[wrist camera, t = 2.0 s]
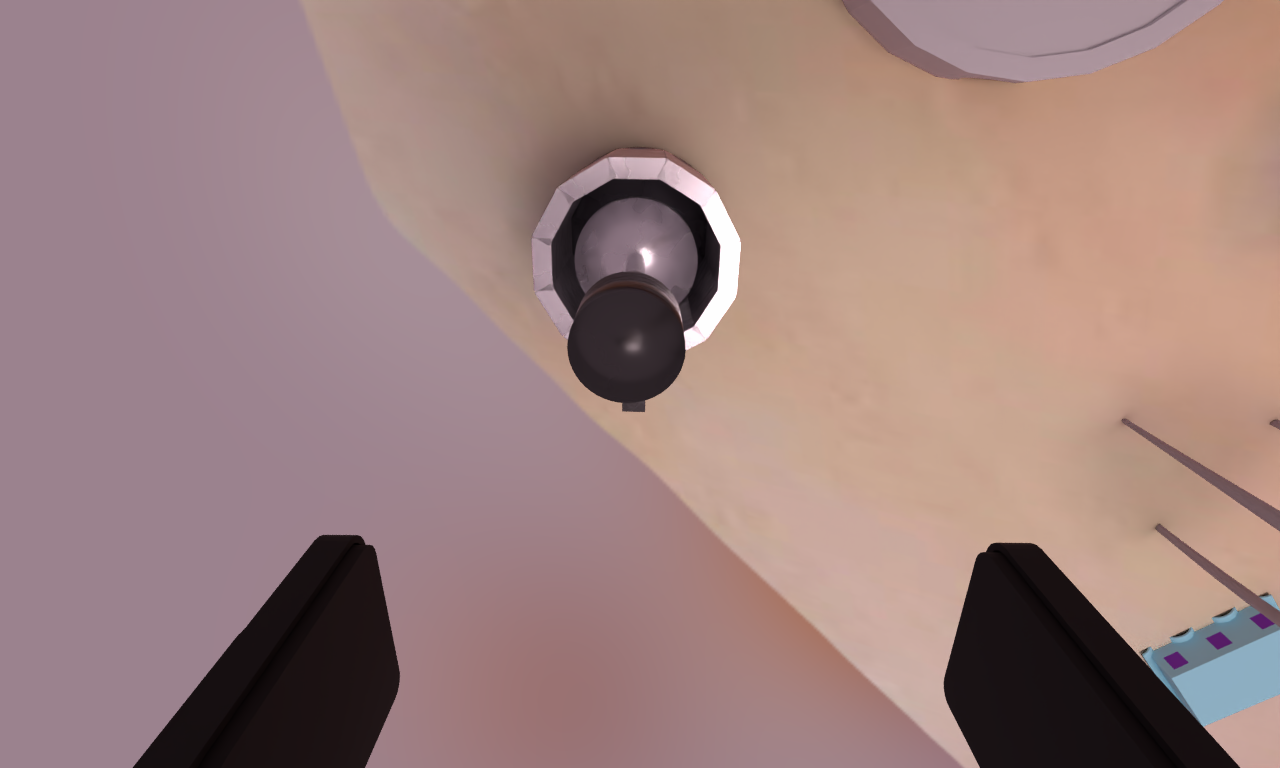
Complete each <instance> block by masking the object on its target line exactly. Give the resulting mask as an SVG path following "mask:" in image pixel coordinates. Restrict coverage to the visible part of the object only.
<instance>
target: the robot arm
mask: <svg viewBox="0 0 1280 768" xmlns="http://www.w3.org/2000/svg"><path fill="white" fill-rule="evenodd" d="M399 680H400V672H399V666H398V661H397V656H396V651H395V646H394V641H393V636H392V631H391V626H390V621H389V616H388V611H387V606H386V601H385V596H384V591H383V586H382V581H381V576H380V570H379V566H378V561H377V555H376V552H375V549H374V547H373V546H372V545H365V542H364V540H363V539H362V537H361V536H358V535H322V536H319V537H318V538H317V539H316V540H315V541H314V542H313V543H312V545H311V546H310V547H309V548H308V550H307V551H306V552H305V553H304V555H303V556H302V557H301V558H300V560H299V561H298V562H297V563H296V565H295V566H294V567H293V569H292V570H291V571H290V572H289V574H288V575H287V576H286V577H285V579H284V580H283V581H282V582H281V584H280V585H279V586H278V587H277V589H276V590H275V591H274V592H273V594H272V595H271V596H270V598H269V599H268V600H267V601H266V603H265V604H264V605H263V606H262V608H261V609H260V610H259V611H258V613H257V614H256V615H255V617H254V618H253V619H252V620H251V622H250V623H249V624H248V625H247V627H246V628H245V629H244V630H243V631H242V632H241V633H240V634H239V635H238V636H237V637H236V638H235V640H234V641H233V642H232V643H231V645H230V646H229V647H228V648H227V650H226V651H225V652H224V654H223V655H222V656H221V657H220V659H219V660H218V661H217V662H216V664H215V665H214V666H213V668H212V669H211V670H210V671H209V672H208V674H207V675H206V677H204V679H203V680H202V681H201V682H200V684H199V685H198V686H197V688H196V689H195V690H194V691H193V693H192V694H191V695H190V696H189V698H188V699H187V700H186V701H185V703H184V704H183V705H182V706H181V708H180V709H179V710H178V711H177V713H176V714H175V715H174V716H173V718H172V719H171V720H170V721H169V723H168V724H167V725H166V726H165V728H164V729H163V730H162V732H161V733H160V734H159V735H158V737H157V738H156V739H155V740H154V742H153V743H152V744H151V745H150V747H149V748H148V749H147V750H146V752H145V753H144V754H143V756H142V757H141V758H140V759H139V760H138V762H137V763H136V764H135V765H134V767H133V768H365V766H366V764H367V762H368V759H369V757H370V755H371V753H372V750H373V748H374V746H375V743H376V741H377V739H378V737H379V734H380V732H381V730H382V727H383V725H384V723H385V721H386V718H387V716H388V714H389V711H390V709H391V707H392V705H393V702H394V700H395V698H396V695H397V692H398V687H399ZM944 692H945V697H946V701H947V703H948V705H949V708H950V710H951V712H952V714H953V716H954V717H955V719H956V721H957V723H958V725H959V727H960V729H961V731H962V733H963V735H964V737H965V739H966V741H967V743H968V745H969V747H970V749H971V751H972V753H973V755H974V757H975V759H976V761H977V763H978V765H979V767H980V768H1240V767H1239V766H1238V765H1237V763H1236V762H1235V761H1234V760H1233V759H1232V758H1231V757H1230V756H1229V755H1228V754H1227V753H1226V751H1225V750H1224V749H1223V748H1222V747H1221V746H1220V745H1219V744H1218V743H1217V742H1216V740H1215V739H1214V738H1213V737H1212V736H1211V735H1210V734H1209V733H1208V732H1207V731H1206V729H1205V728H1204V727H1203V726H1202V725H1201V724H1200V723H1199V722H1198V721H1197V720H1196V718H1195V717H1194V716H1193V715H1192V714H1191V713H1190V712H1189V711H1188V710H1187V709H1186V707H1185V706H1184V705H1183V704H1182V703H1181V702H1180V701H1179V700H1178V699H1177V698H1176V696H1175V695H1174V694H1173V693H1172V692H1171V691H1170V690H1169V689H1168V688H1167V687H1166V685H1165V684H1164V683H1163V682H1162V681H1161V680H1160V679H1159V678H1158V677H1157V676H1156V674H1155V673H1154V672H1153V671H1152V670H1151V669H1150V668H1149V667H1148V666H1147V665H1146V663H1145V662H1144V661H1143V660H1142V659H1141V658H1140V657H1139V656H1138V655H1137V654H1136V653H1135V651H1134V650H1133V649H1132V648H1131V647H1130V646H1129V645H1128V644H1127V643H1126V642H1125V640H1124V639H1123V638H1122V637H1121V636H1120V635H1119V634H1118V633H1117V632H1116V631H1115V629H1114V628H1113V627H1112V626H1111V625H1110V624H1109V623H1108V622H1107V621H1106V620H1105V618H1104V617H1103V616H1102V615H1101V614H1100V613H1099V612H1098V611H1097V610H1096V609H1095V607H1094V606H1093V605H1092V604H1091V603H1090V602H1089V601H1088V600H1087V599H1086V598H1085V596H1084V595H1083V594H1082V593H1081V592H1080V591H1079V590H1078V589H1077V588H1076V587H1075V585H1074V584H1073V583H1072V582H1071V581H1070V580H1069V579H1068V578H1067V577H1066V576H1065V574H1064V573H1063V572H1062V571H1061V570H1060V569H1059V568H1058V567H1057V566H1056V565H1055V564H1054V562H1053V561H1052V560H1051V559H1050V558H1049V557H1048V556H1047V555H1046V554H1045V553H1044V551H1043V550H1042V549H1041V548H1039V547H1038V546H1037V545H1035V544H1032V543H993V544H991V545H990V546H989V547H988V549H987V551H986V552H982V553H980V554H979V555H978V556H977V558H976V561H975V564H974V568H973V572H972V576H971V580H970V583H969V587H968V591H967V595H966V598H965V602H964V606H963V610H962V613H961V617H960V621H959V625H958V628H957V632H956V636H955V640H954V644H953V647H952V651H951V655H950V659H949V662H948V666H947V670H946V674H945V677H944Z"/></svg>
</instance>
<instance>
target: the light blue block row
mask: <svg viewBox="0 0 1280 768" xmlns="http://www.w3.org/2000/svg"><path fill="white" fill-rule="evenodd" d="M1259 597H1260V598H1261V599H1263V600H1264V601H1266V602H1267V603H1269V604H1270V605H1272V606H1273V607H1275V608H1276V609H1277V610H1279V608H1278V606H1277V604H1276V602H1275V600H1274V599H1273V597H1272V595H1271V594H1270V595H1267V596H1259ZM1279 611H1280V610H1279ZM1212 619H1213V621H1214V623H1213V624H1210V625H1208V626H1206V627H1204V628H1202V629H1200V630H1198V631H1195V632H1194V630H1193V629H1192V627H1191V628H1189V630H1188V632H1187V633H1185V634H1184V635H1182V636H1178V637H1170V639H1171V641H1172V643H1170V644H1167V645H1165V646H1163V647H1161V648H1159V649H1157V650H1155V651H1153V650H1152V648H1151V647H1148V649H1147V651H1146V652H1145V653H1143V654H1142V656H1143V657H1144V659H1145V660H1146V662H1147V663H1148V665H1149V666H1150V668H1151V669H1152V671H1153V672H1154V673H1155V674H1156V676H1157V677H1158V678H1159V679H1160V680H1161V681H1162V682H1163V683H1164V684H1165V685H1166V687H1167V688H1168V689H1169V690H1170V691H1171V692H1172V693H1173V694H1174V695H1175V696H1176V698H1177V699H1178V700H1179V701H1180V702H1181V703H1182V704H1183V705H1184V706H1185V707H1186V708H1187V709H1188V711H1189V712H1190V713H1191V714H1192V715H1193V716H1194V717H1195V718H1196V719H1197V721H1198V722H1199V723H1200V724H1201V725H1202V726H1203V727H1204V726H1206V725H1208V724H1211V723H1213V722H1215V721H1218V720H1220V719H1222V718H1225V717H1227V716H1230V715H1232V714H1234V713H1237V712H1239V711H1241V710H1244V709H1246V708H1248V707H1251V706H1253V705H1255V704H1258V703H1260V702H1263V701H1265V700H1267V699H1270V698H1272V697H1274V696H1277V695H1279V694H1280V627H1279V626H1277V625H1276V624H1275V623H1273V622H1272V621H1271V620H1269V619H1268V618H1267V617H1265V616H1264V615H1263V614H1261V613H1260V612H1259V611H1257V610H1256V609H1255V608H1253V607H1252V606H1249V607H1247V608H1245V609H1243V610H1241V611H1238V612H1237V610H1236V608H1235V607H1234V608H1232V610H1231V612H1230V613H1228V614H1227V615H1225V616H1221V617H1212Z"/></svg>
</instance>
